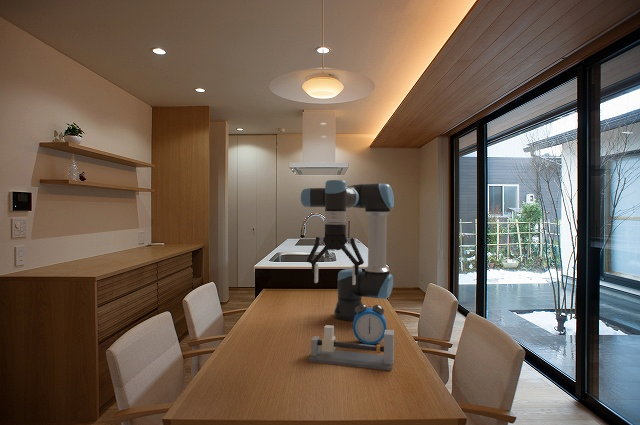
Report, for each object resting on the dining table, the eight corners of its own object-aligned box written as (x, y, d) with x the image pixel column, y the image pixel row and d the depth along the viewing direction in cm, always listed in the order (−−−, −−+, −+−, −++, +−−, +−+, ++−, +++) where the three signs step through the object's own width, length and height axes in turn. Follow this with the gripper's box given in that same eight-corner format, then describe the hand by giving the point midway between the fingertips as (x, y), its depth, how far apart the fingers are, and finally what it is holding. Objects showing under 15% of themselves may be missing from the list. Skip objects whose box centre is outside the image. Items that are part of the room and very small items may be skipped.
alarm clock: (352, 344, 146) (352, 306, 145) (353, 338, 152) (353, 302, 151) (386, 346, 144) (386, 307, 143) (386, 340, 150) (386, 303, 149)
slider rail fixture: (316, 350, 139) (316, 321, 139) (394, 359, 131) (394, 328, 131) (308, 361, 129) (308, 329, 129) (392, 371, 122) (392, 337, 122)
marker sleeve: (324, 346, 135) (325, 324, 135) (335, 347, 134) (335, 325, 134) (322, 351, 131) (322, 327, 131) (333, 352, 130) (333, 328, 130)
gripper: (298, 223, 132) (298, 283, 132) (369, 224, 126) (369, 287, 126) (304, 222, 139) (303, 279, 139) (371, 223, 133) (371, 283, 134)
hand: (334, 283), depth 133 cm, fingers open, 13 cm apart
